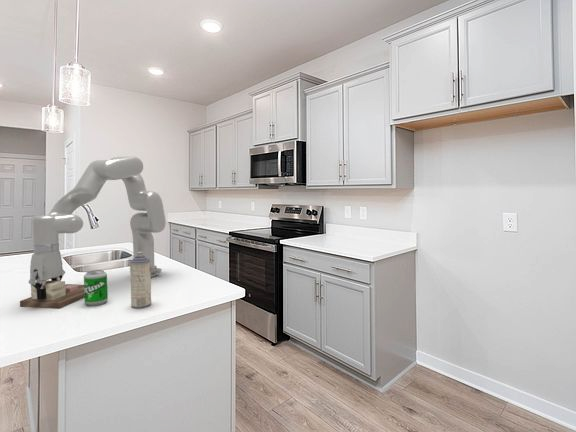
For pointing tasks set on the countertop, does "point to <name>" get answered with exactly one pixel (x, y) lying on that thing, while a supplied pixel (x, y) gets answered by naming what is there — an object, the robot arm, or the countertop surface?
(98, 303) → the soda can
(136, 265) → the aerosol can
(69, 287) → the eraser piece
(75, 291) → the board
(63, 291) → the block
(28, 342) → the countertop surface
